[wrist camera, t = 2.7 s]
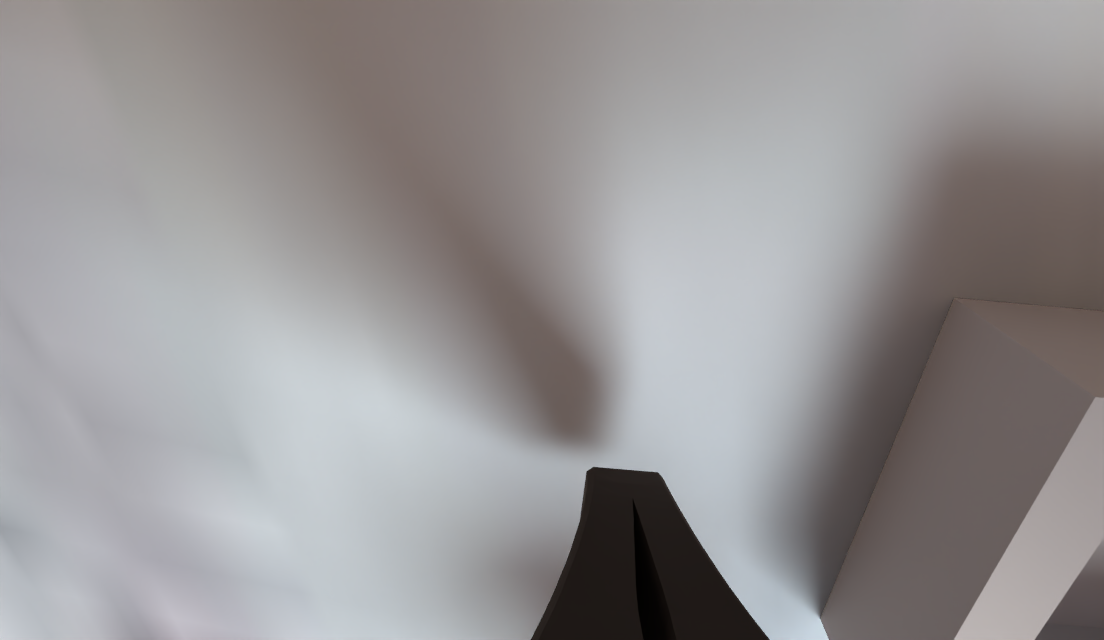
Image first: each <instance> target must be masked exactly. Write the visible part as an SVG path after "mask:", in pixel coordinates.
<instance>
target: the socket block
mask: <svg viewBox="0 0 1104 640" xmlns="http://www.w3.org/2000/svg"><path fill="white" fill-rule="evenodd" d="M820 619H821V622H822V624H823V626H824V629H825V631H826V633H827V636H828V638H829V640H1104V311H1099V310H1087V309H1076V308H1064V307H1053V306H1042V305H1030V304H1019V303H1007V302H996V301H985V300H973V299H962V298H954V299H953V302H952V304H951V306H950V309H949V311H948V314H947V316H946V318H945V321H944V323H943V326H942V328H941V330H940V333H939V335H938V338H937V340H936V342H935V345H934V347H933V349H932V352H931V354H930V357H929V359H928V361H927V364H926V366H925V369H924V371H923V373H922V376H921V378H920V381H919V383H918V385H917V388H916V390H915V393H914V395H913V397H912V400H911V402H910V405H909V407H908V409H907V412H906V414H905V416H904V419H903V421H902V424H901V426H900V428H899V431H898V433H897V436H896V438H895V440H894V443H893V445H892V448H891V450H890V452H889V455H888V457H887V460H886V462H885V464H884V467H883V469H882V472H881V474H880V476H879V479H878V481H877V483H876V486H875V488H874V491H873V493H872V495H871V498H870V500H869V503H868V505H867V507H866V510H865V512H864V515H863V517H862V519H861V522H860V524H859V527H858V529H857V531H856V534H855V536H854V538H853V541H852V543H851V546H850V548H849V550H848V553H847V555H846V558H845V560H844V562H843V565H842V567H841V570H840V572H839V574H838V577H837V579H836V582H835V584H834V586H833V589H832V591H831V594H830V596H829V598H828V601H827V603H826V605H825V608H824V610H823V613H822V615H821V617H820Z"/></svg>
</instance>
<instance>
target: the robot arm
mask: <svg viewBox="0 0 1104 640" xmlns="http://www.w3.org/2000/svg"><path fill="white" fill-rule="evenodd" d="M531 640H769V638H768V637H767V636H766V635H765V633H764V632H763V631H762V630H761V628H760V627H759V626H758V625H757V623H756V622H755V621H754V619H753V618H752V617H751V615H750V614H749V613H748V612H747V610H746V609H745V607H744V606H743V605H742V603H741V602H740V601H739V599H738V598H737V597H736V595H735V594H734V592H733V591H732V590H731V588H730V587H729V586H728V584H727V583H726V581H725V580H724V578H723V577H722V575H721V574H720V573H719V571H718V570H717V568H716V567H715V565H714V563H713V562H712V560H711V559H710V557H709V556H708V554H707V553H706V551H705V550H704V548H703V547H702V545H701V544H700V542H699V541H698V539H697V537H696V536H695V534H694V532H693V531H692V529H691V528H690V526H689V524H688V522H687V521H686V519H685V517H684V516H683V514H682V512H681V511H680V509H679V507H678V505H677V504H676V502H675V500H674V498H673V496H672V495H671V493H670V491H669V489H668V487H667V485H666V483H665V481H664V479H663V478H662V477H661V475H660V474H659V473H658V472H646V471H634V470H622V469H610V468H598V467H593V468H591V469H590V470H588V471H587V473H586V480H585V488H584V495H583V503H582V510H581V518H580V522H579V526H578V529H577V532H576V535H575V538H574V541H573V544H572V548H571V551H570V553H569V556H568V559H567V561H566V564H565V566H564V569H563V571H562V574H561V576H560V578H559V581H558V583H557V586H556V588H555V591H554V593H553V595H552V598H551V600H550V602H549V604H548V606H547V608H546V611H545V613H544V615H543V617H542V619H541V621H540V623H539V625H538V627H537V629H536V631H535V633H534V635H533V637H532V639H531Z"/></svg>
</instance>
